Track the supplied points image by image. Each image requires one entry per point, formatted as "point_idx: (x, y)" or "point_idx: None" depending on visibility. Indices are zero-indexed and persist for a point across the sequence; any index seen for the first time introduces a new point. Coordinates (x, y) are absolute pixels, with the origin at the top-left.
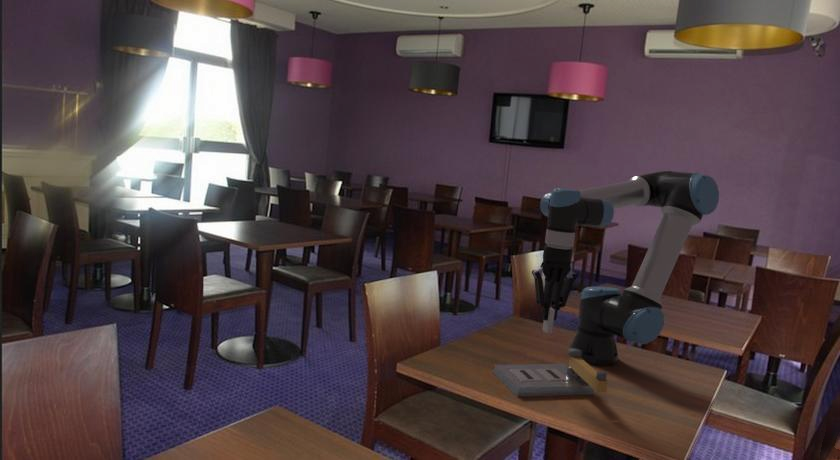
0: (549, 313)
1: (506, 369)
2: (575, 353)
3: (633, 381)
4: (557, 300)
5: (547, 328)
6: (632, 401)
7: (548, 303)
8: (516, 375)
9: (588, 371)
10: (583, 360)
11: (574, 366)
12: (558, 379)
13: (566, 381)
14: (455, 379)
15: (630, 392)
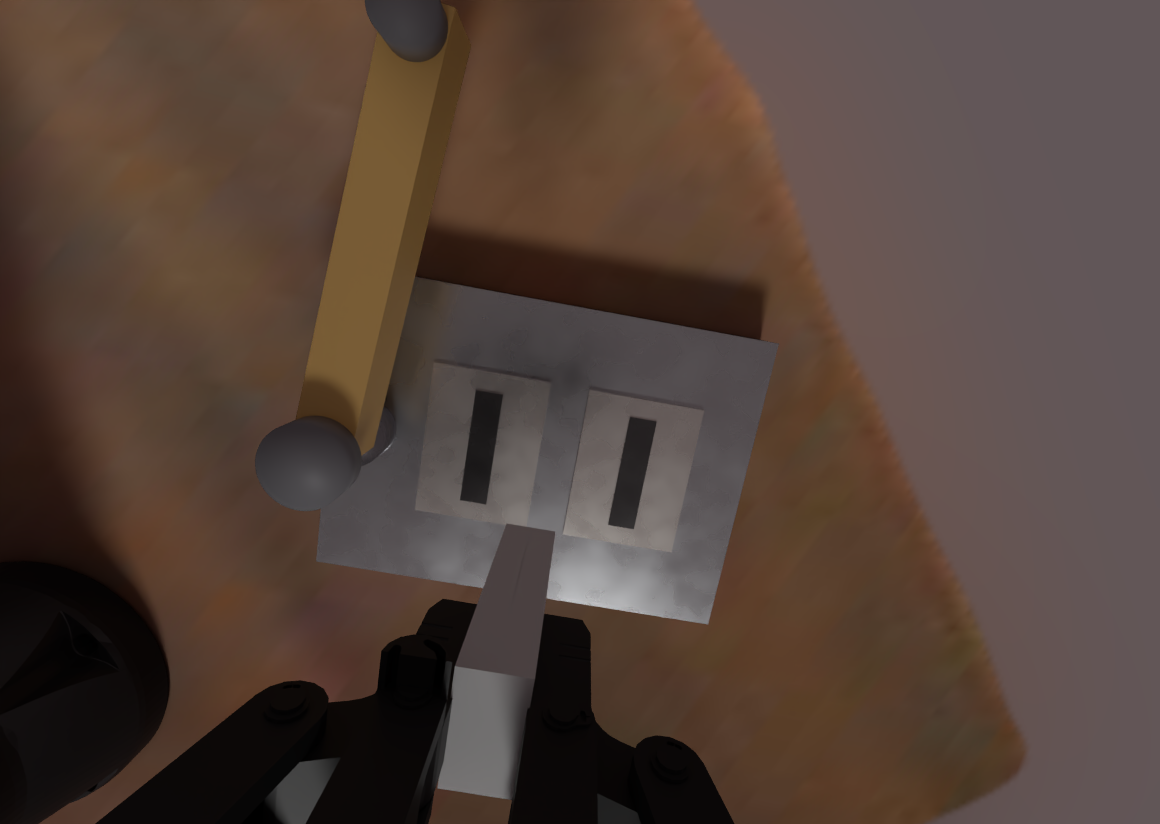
0: (537, 648)
1: (685, 560)
2: (327, 430)
3: (12, 363)
4: (378, 795)
5: (551, 554)
6: (191, 146)
7: (565, 768)
8: (688, 479)
9: (410, 179)
10: (311, 365)
11: (382, 378)
12: (496, 378)
13: (463, 351)
14: (910, 582)
15: (125, 246)
